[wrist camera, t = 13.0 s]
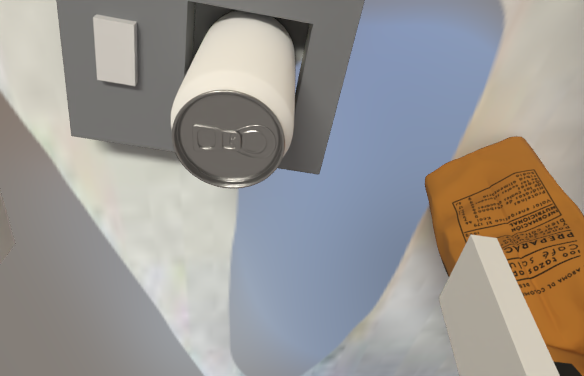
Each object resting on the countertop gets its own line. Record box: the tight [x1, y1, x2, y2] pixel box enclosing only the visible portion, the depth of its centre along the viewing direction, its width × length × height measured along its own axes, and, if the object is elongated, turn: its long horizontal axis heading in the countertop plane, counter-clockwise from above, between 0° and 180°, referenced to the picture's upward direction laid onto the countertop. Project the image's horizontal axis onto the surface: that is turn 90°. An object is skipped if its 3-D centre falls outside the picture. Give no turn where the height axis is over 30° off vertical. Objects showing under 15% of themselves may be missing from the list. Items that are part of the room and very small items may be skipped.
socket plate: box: [56, 0, 365, 174], centre depth 31 cm, size 18×14×4 cm
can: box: [171, 10, 295, 188], centre depth 28 cm, size 6×6×12 cm
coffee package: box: [425, 137, 584, 376], centre depth 31 cm, size 10×12×22 cm
